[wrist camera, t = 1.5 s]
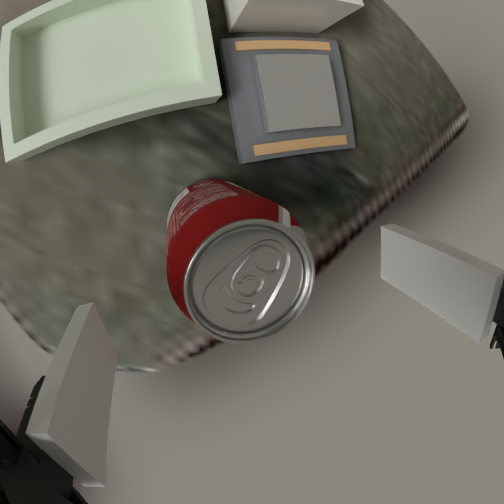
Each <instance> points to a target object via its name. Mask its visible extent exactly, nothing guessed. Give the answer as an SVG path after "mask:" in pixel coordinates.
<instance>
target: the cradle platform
mask: <svg viewBox="0 0 504 504" xmlns="http://www.w3.org/2000/svg"><path fill="white" fill-rule="evenodd" d="M252 63H253V68H254V73H255V79H256V84H257V90H258V95H259V101H260V107H261V113H262V118H263V124H264V130H265V133H269V132H277V131H286V130H295V129H305V128H316V127H329V126H340V125H341V122H340V115H339V109H338V103H337V97H336V91H335V86H334V80H333V75H332V70H331V65H330V60H329V56H328V55H316V54H261V55H255V56H254V57H253V58H252Z"/></svg>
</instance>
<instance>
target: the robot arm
mask: <svg viewBox="0 0 504 504" xmlns="http://www.w3.org/2000/svg"><path fill="white" fill-rule="evenodd" d="M381 279H383V280H385V281H386V282H388V283H390V284H391V285H393V286H394V287H396V288H397V289H399V290H401V291H402V292H404V293H405V294H407V295H408V296H410V297H411V298H413V299H414V300H416V301H417V302H419V303H420V304H422V305H423V306H425V307H427V308H428V309H429V310H431V311H432V312H434V313H436V314H437V315H439V316H440V317H441V318H443V319H444V320H446V321H448V322H449V323H450V324H452V325H453V326H455V327H456V328H458V329H459V330H461V331H462V332H463V333H465V334H466V335H468V336H469V337H470V338H472V339H473V340H475V341H476V342H478V343H479V342H481V341H482V340H483V339H484V338H485V337H486V336H487V335H488V333H489V331H490V328H491V325H492V321H493V322H495V323H496V324H497V326H496V329H495V332H494V335H493V338H492V340H491V343H490V349H492V348H493V345H494V343H495V341H497V344H496V347H495V348H501V351H502V355H503V358H504V270H503V269H501V268H498V267H496V266H494V265H492V264H490V263H488V262H485V261H483V260H481V259H479V258H477V257H474V256H472V255H470V254H468V253H465V252H463V251H460V250H458V249H456V248H453V247H451V246H449V245H446V244H444V243H442V242H439V241H437V240H434V239H432V238H429V237H427V236H424V235H422V234H419V233H417V232H414V231H411V230H409V229H406V228H403V227H401V226H398V225H395V224H388V225H384V226H381ZM117 359H118V354H117V352H116V350H115V348H114V346H113V344H112V342H111V340H110V338H109V336H108V334H107V332H106V330H105V327H104V325H103V323H102V321H101V319H100V316H99V314H98V312H97V310H96V307H95V305H94V303H93V302H92V303H88V304H84V305H80V306H78V307H77V309H76V311H75V313H74V315H73V317H72V319H71V321H70V323H69V325H68V327H67V329H66V331H65V333H64V335H63V337H62V339H61V342H60V344H59V346H58V348H57V350H56V353H55V355H54V357H53V359H52V362H51V364H50V367H49V369H48V372H47V374H46V376H42V377H41V378H40V380H39V381H38V382H37V383H36V385H35V386H34V388H33V391H32V393H31V396H30V400H29V401H28V404H27V408H26V409H25V412H24V415H23V418H22V420H21V423H20V426H19V429H18V433H17V436H15V435H14V433H13V432H12V431H11V430H10V429H9V428H8V427H7V426H6V425H5V424H4V423H3V421H2V420H0V504H88V503H87V502H86V501H85V500H84V498H83V497H82V496H81V495H80V493H79V492H78V491H77V490H76V489H75V488H74V487H72V485H73V478H74V479H75V480H77V481H78V482H79V483H81V484H82V485H83V486H86V487H105V478H106V454H107V439H108V427H109V417H110V408H111V399H112V392H113V385H114V378H115V372H116V365H117Z"/></svg>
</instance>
